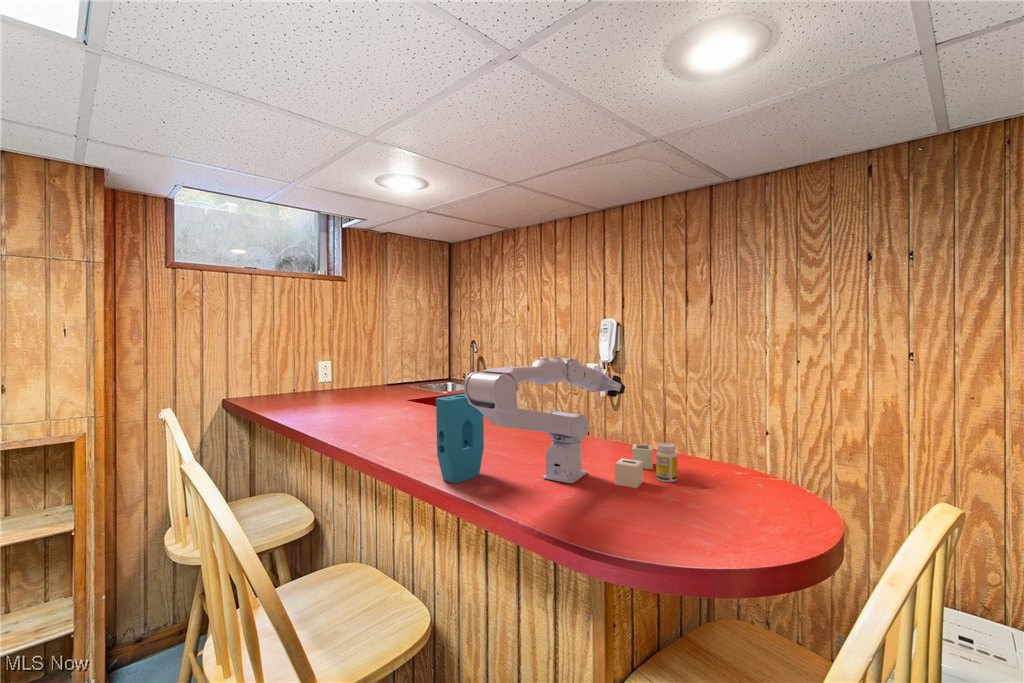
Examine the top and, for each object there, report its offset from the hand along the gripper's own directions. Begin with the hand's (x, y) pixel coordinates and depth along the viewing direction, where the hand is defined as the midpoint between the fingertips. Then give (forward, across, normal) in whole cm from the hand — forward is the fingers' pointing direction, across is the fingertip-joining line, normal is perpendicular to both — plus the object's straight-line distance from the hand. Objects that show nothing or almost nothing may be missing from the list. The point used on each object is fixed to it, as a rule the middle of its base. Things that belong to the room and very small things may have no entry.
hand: (611, 386), depth 128 cm
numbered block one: (-10, -17, +21) cm, 29 cm away
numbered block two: (+4, -13, +18) cm, 22 cm away
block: (-32, +14, +33) cm, 48 cm away
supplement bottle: (-2, -22, +18) cm, 29 cm away
